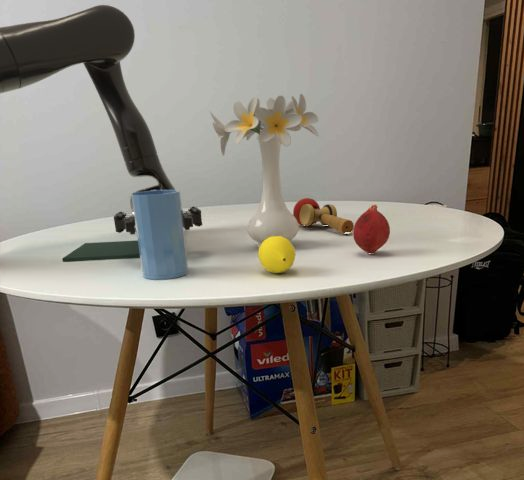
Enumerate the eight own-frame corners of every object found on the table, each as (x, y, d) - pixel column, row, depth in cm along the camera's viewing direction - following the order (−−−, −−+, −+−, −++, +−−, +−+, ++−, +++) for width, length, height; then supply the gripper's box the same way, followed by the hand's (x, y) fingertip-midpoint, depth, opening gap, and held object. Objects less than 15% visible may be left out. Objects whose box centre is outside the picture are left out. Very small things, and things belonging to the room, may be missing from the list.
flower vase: (215, 245, 96) (203, 99, 86) (307, 237, 99) (305, 96, 90) (227, 259, 84) (215, 92, 74) (331, 249, 88) (332, 89, 78)
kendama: (364, 238, 102) (315, 216, 116) (364, 208, 98) (313, 189, 112) (333, 250, 100) (286, 226, 113) (332, 219, 96) (283, 199, 109)
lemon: (254, 269, 77) (252, 233, 75) (288, 265, 78) (287, 230, 76) (265, 280, 70) (264, 242, 68) (302, 276, 72) (301, 238, 70)
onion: (369, 260, 79) (371, 207, 76) (345, 254, 84) (346, 204, 81) (395, 254, 82) (399, 204, 79) (371, 249, 86) (373, 201, 83)
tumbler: (139, 280, 73) (127, 195, 69) (147, 269, 80) (136, 191, 75) (185, 278, 74) (176, 193, 69) (190, 267, 80) (182, 189, 75)
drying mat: (62, 261, 88) (62, 258, 88) (85, 246, 101) (85, 243, 101) (164, 256, 89) (164, 252, 88) (174, 241, 101) (174, 238, 101)
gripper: (114, 194, 90) (109, 204, 76) (193, 189, 93) (202, 197, 78) (121, 236, 93) (116, 253, 79) (197, 230, 96) (207, 245, 81)
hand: (159, 225), depth 78 cm, fingers open, 8 cm apart
